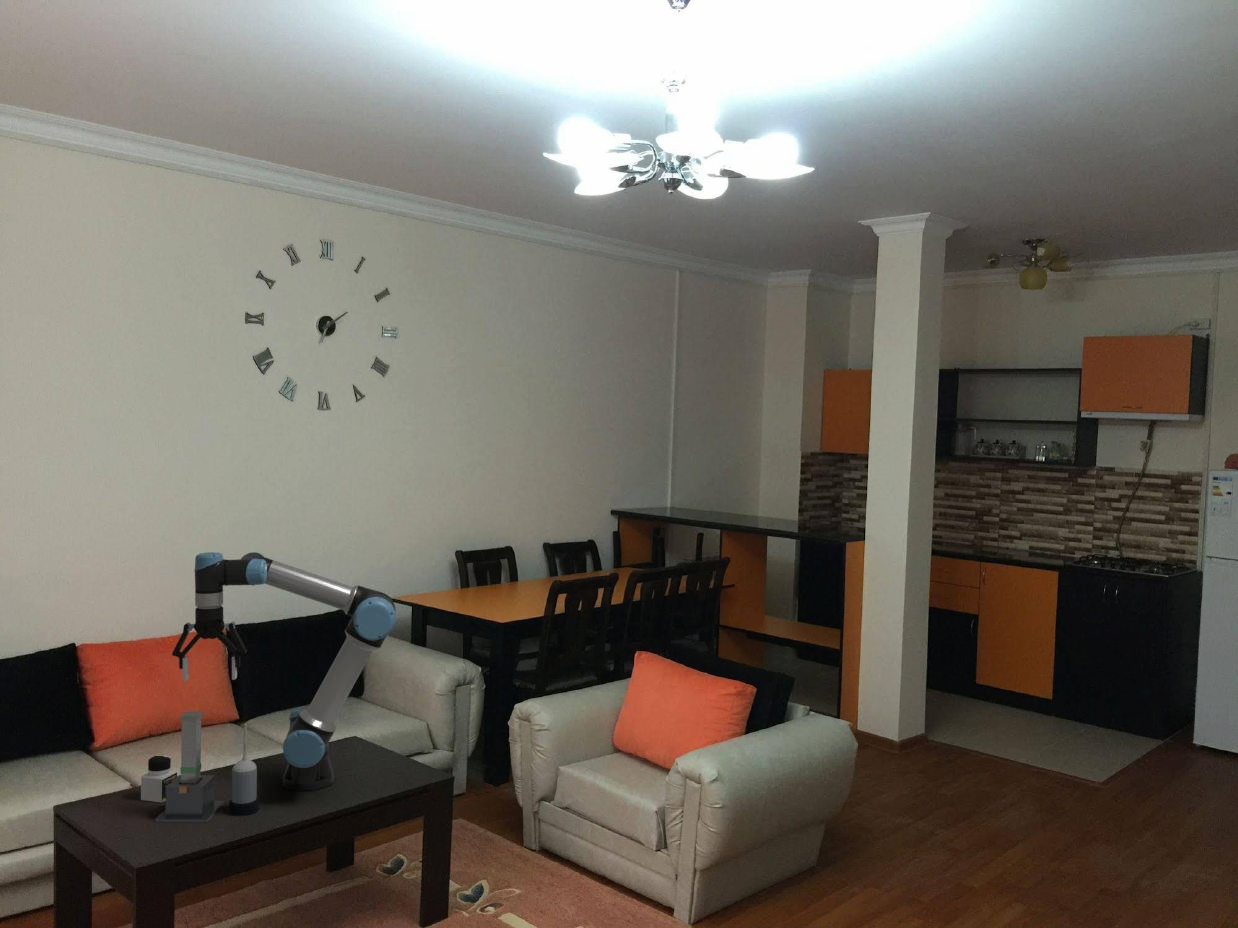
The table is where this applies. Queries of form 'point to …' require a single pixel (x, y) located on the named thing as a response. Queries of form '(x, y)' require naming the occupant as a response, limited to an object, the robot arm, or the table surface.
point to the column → (191, 748)
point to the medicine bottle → (157, 779)
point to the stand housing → (190, 801)
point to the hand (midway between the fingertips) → (210, 679)
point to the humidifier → (244, 785)
